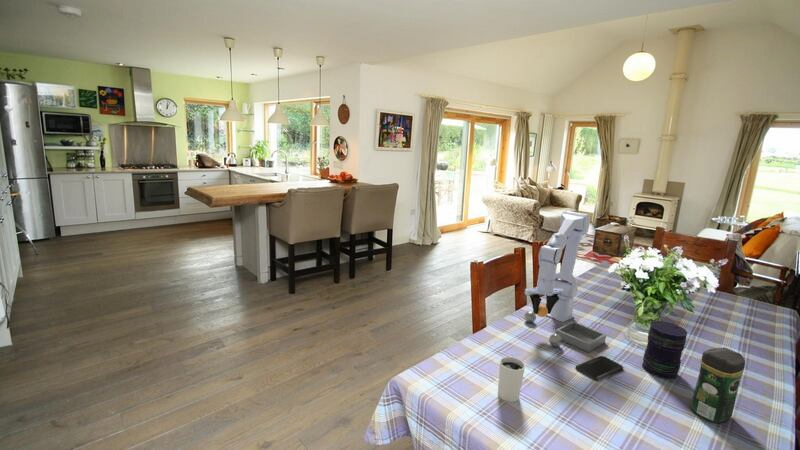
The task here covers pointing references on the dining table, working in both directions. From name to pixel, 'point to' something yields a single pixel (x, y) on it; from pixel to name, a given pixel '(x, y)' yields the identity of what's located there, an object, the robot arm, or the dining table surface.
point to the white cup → (510, 378)
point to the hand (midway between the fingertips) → (541, 312)
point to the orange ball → (542, 311)
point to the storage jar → (664, 349)
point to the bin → (581, 336)
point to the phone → (599, 368)
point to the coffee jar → (717, 384)
